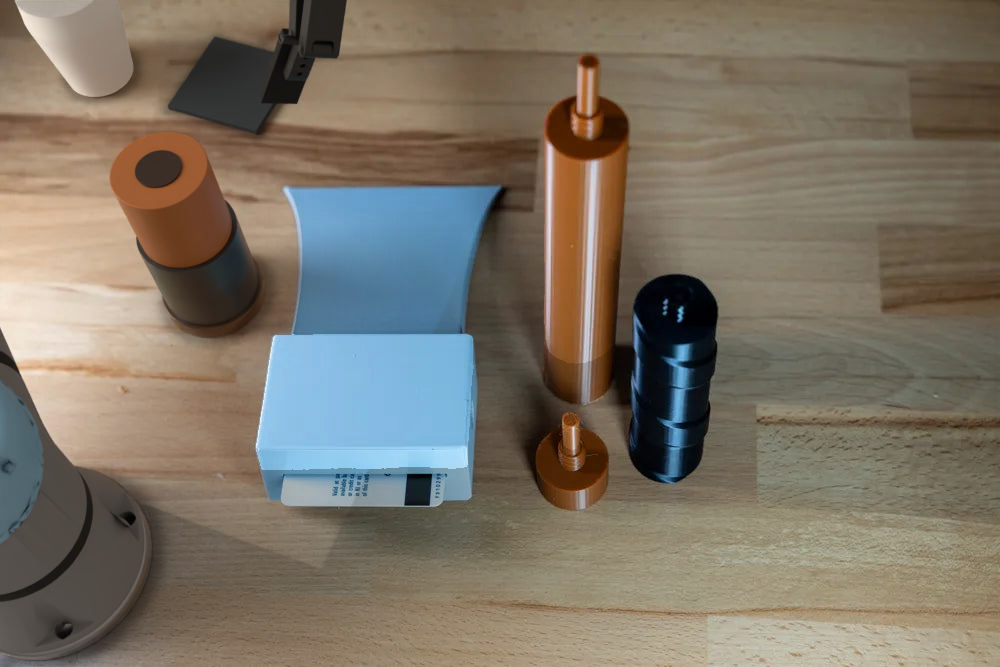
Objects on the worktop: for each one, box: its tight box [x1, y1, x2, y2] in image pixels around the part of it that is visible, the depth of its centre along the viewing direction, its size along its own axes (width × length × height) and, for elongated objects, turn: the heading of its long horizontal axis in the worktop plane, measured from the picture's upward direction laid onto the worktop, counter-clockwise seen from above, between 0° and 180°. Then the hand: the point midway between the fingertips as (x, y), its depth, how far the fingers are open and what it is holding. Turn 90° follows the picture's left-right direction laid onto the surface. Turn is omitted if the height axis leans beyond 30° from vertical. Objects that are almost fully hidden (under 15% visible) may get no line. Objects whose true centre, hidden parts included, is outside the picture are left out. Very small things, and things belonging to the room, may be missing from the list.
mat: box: [167, 36, 277, 135], centre depth 119 cm, size 10×10×1 cm
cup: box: [14, 0, 134, 98], centre depth 115 cm, size 9×9×12 cm
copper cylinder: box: [109, 131, 232, 268], centre depth 94 cm, size 8×8×8 cm
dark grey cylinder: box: [135, 198, 267, 339], centre depth 102 cm, size 9×9×10 cm
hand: (254, 31), depth 87 cm, fingers open, 13 cm apart
